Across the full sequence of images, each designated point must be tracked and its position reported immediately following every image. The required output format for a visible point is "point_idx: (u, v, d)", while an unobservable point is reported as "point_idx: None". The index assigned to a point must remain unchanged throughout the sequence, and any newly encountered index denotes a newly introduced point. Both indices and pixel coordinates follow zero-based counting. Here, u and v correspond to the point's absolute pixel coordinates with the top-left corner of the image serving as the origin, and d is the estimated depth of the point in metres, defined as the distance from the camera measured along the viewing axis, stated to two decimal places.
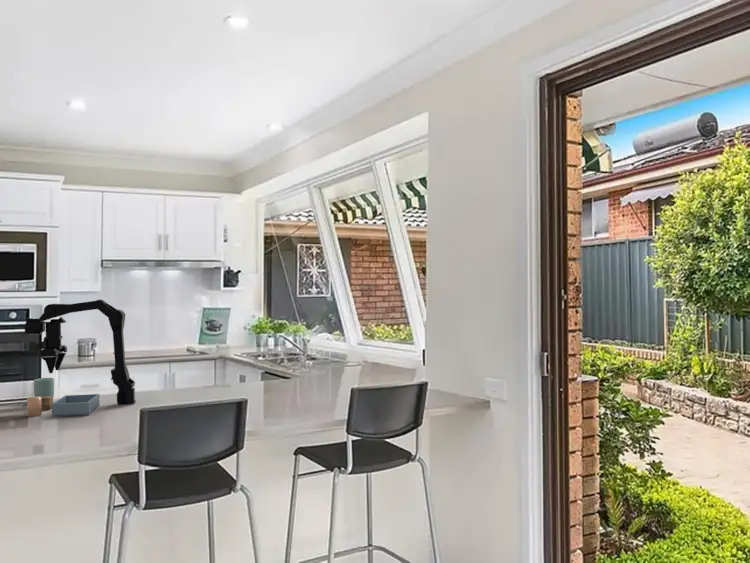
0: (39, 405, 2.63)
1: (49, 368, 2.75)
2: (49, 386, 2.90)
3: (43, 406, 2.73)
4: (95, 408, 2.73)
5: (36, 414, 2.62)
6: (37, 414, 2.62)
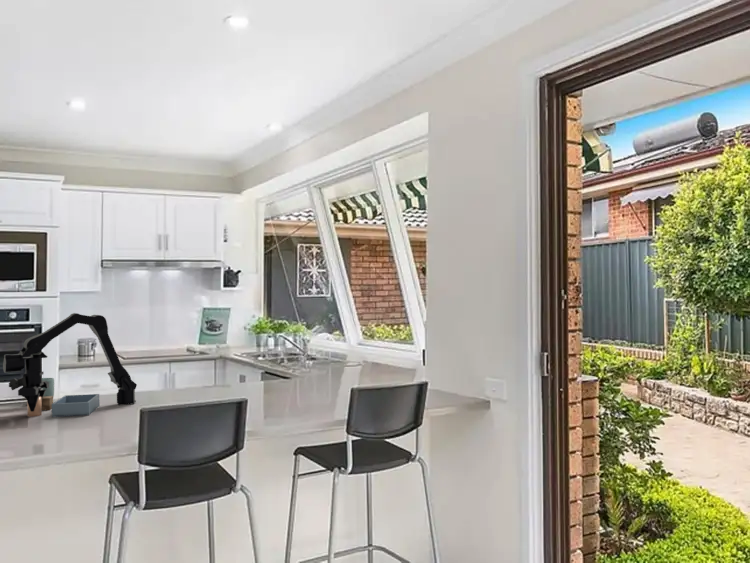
0: (39, 405, 2.63)
1: (30, 406, 2.60)
2: (49, 386, 2.90)
3: (43, 406, 2.73)
4: (95, 408, 2.73)
5: (36, 414, 2.62)
6: (37, 414, 2.62)
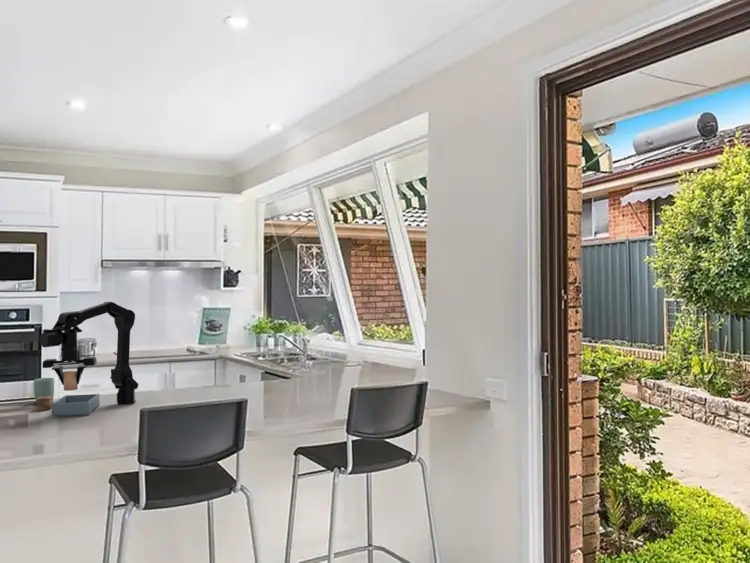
0: (65, 380, 2.62)
1: None
2: (49, 386, 2.90)
3: (43, 406, 2.73)
4: (95, 408, 2.73)
5: (64, 388, 2.63)
6: (64, 388, 2.63)
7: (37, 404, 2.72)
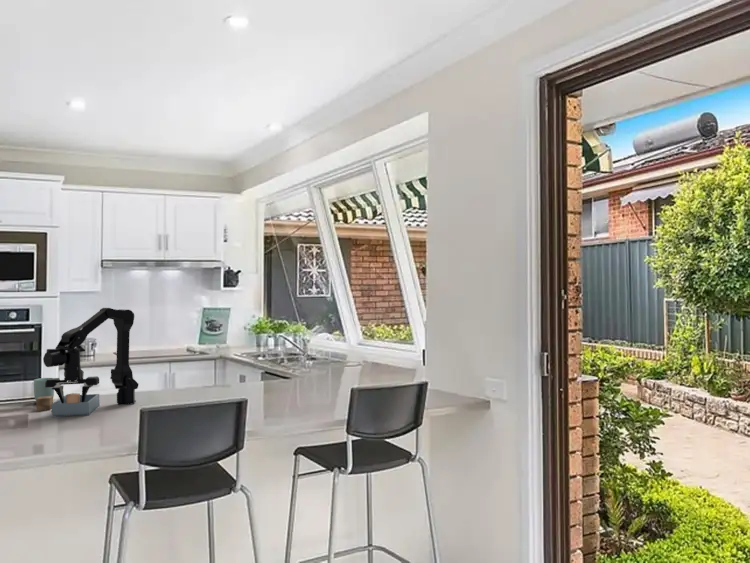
0: None
1: None
2: None
3: (43, 406, 2.73)
4: (95, 408, 2.73)
5: None
6: None
7: (37, 404, 2.72)
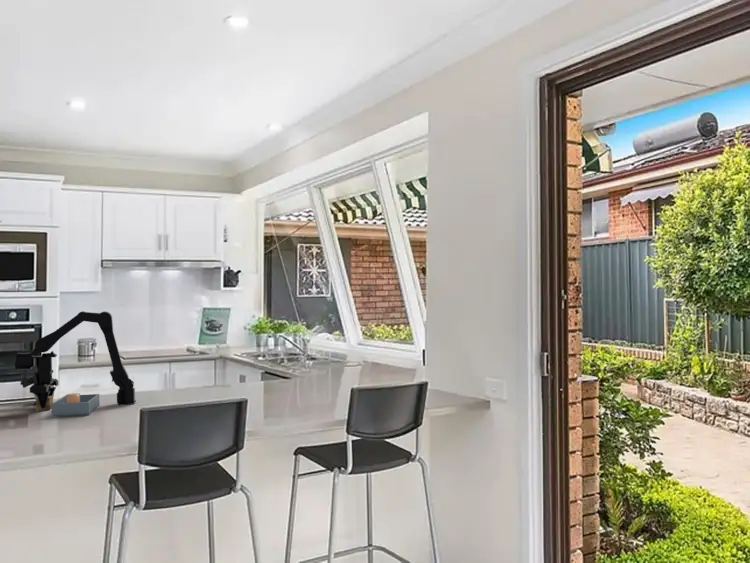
0: None
1: (41, 403, 2.72)
2: None
3: None
4: (95, 408, 2.73)
5: None
6: None
7: (37, 404, 2.72)
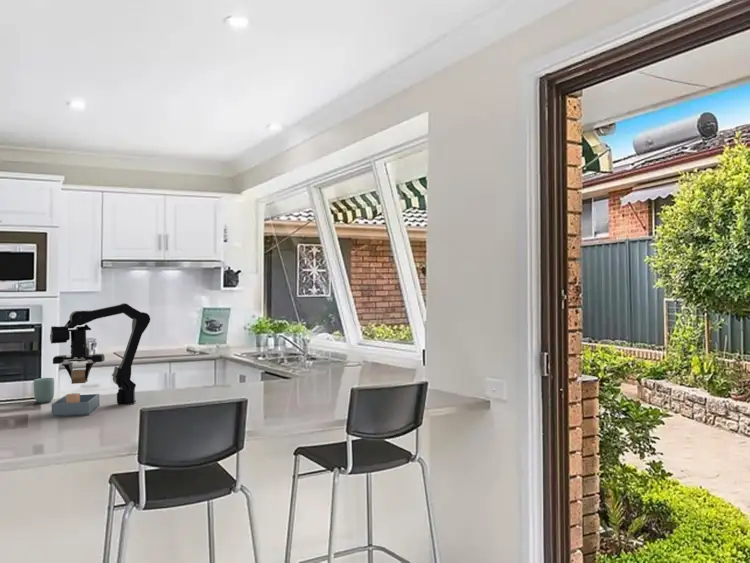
0: None
1: None
2: (49, 386, 2.90)
3: None
4: (95, 408, 2.73)
5: None
6: None
7: None
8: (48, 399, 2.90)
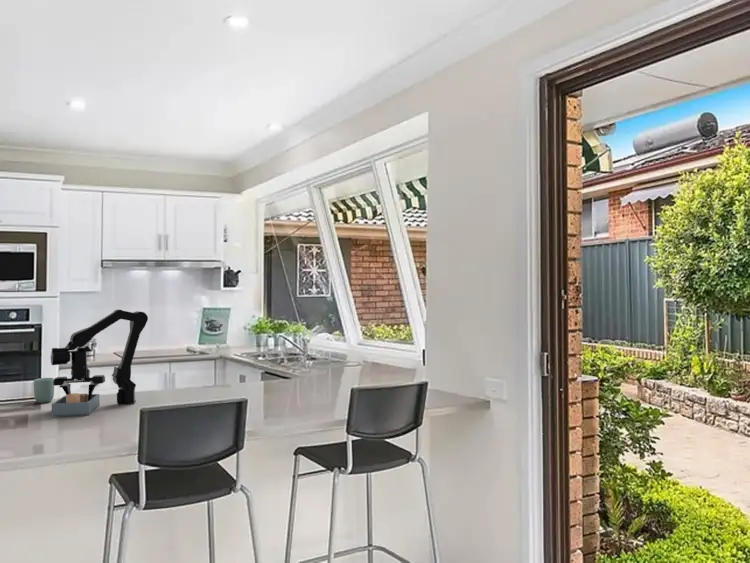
0: None
1: None
2: (49, 386, 2.90)
3: None
4: (95, 408, 2.73)
5: None
6: None
7: None
8: (48, 399, 2.90)
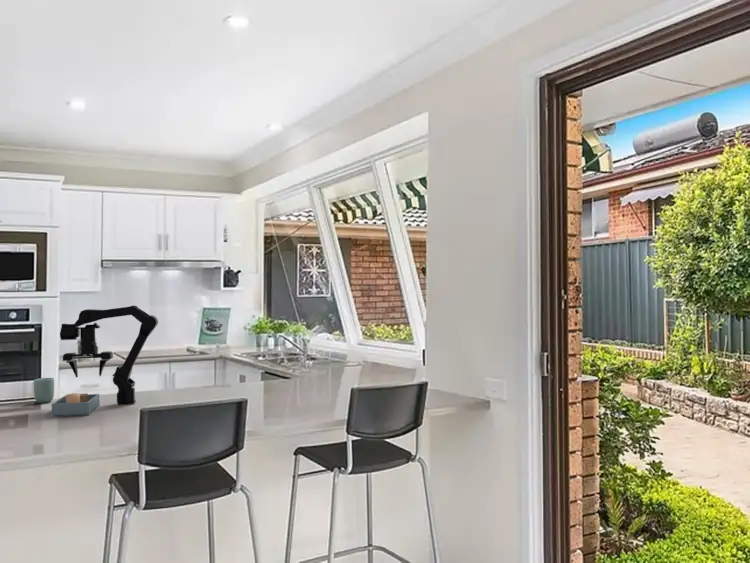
0: None
1: None
2: (49, 386, 2.90)
3: None
4: (95, 408, 2.73)
5: None
6: None
7: None
8: (48, 399, 2.90)
